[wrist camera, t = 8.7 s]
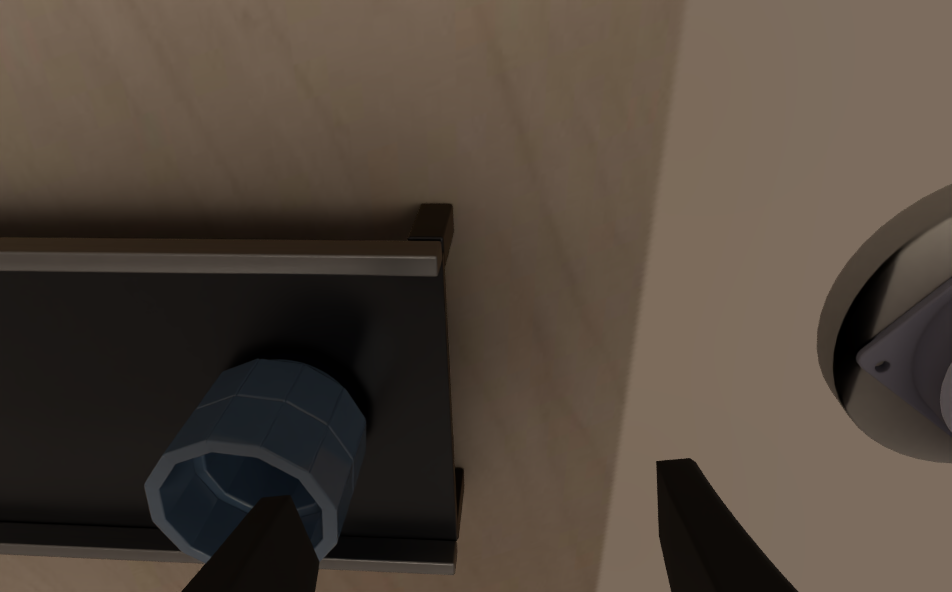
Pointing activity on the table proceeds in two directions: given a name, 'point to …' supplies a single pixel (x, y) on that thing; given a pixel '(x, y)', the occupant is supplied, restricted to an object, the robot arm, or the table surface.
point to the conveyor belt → (201, 362)
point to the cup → (260, 456)
